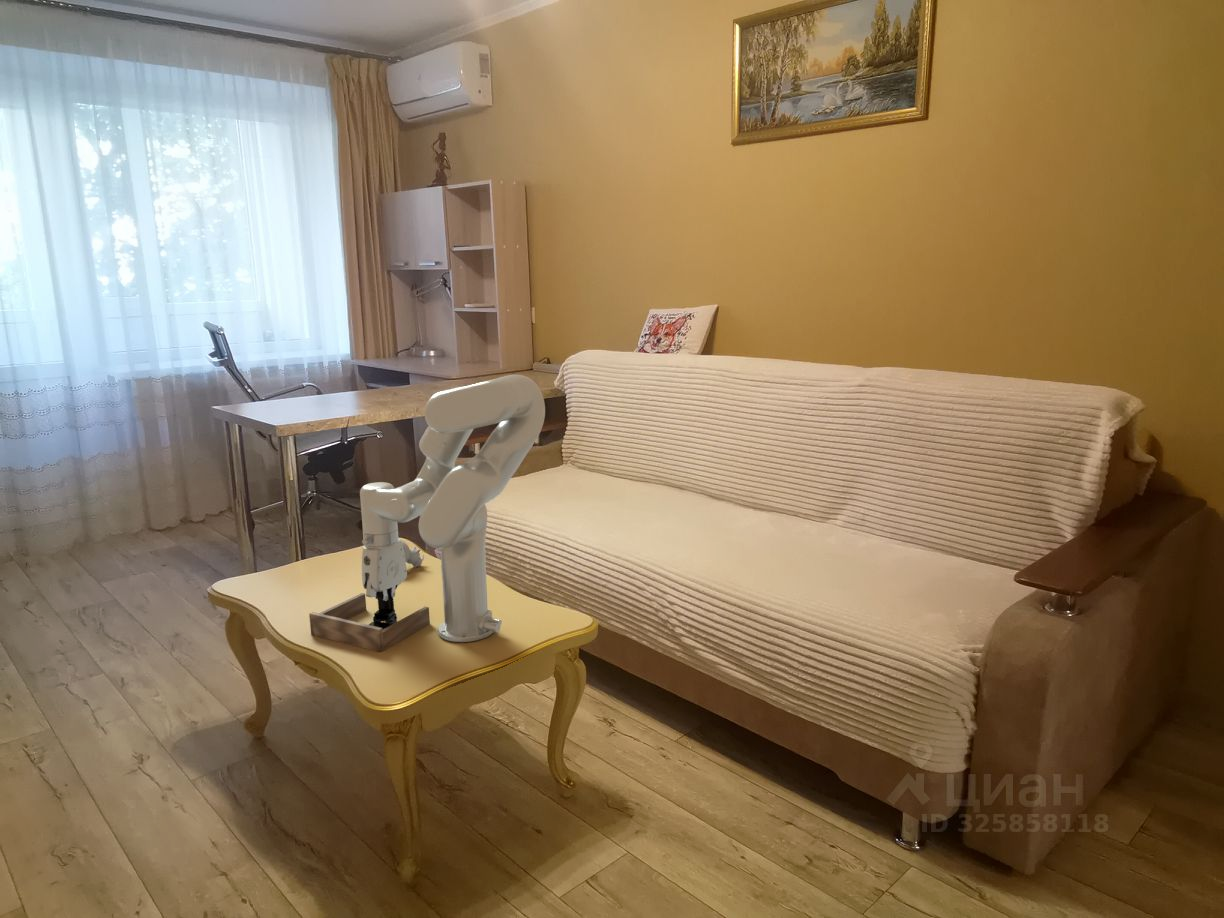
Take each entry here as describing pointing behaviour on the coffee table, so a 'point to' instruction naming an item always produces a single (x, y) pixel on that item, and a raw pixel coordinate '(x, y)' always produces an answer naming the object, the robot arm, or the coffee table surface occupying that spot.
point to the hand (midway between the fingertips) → (386, 614)
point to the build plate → (384, 618)
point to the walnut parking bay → (363, 625)
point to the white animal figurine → (412, 555)
